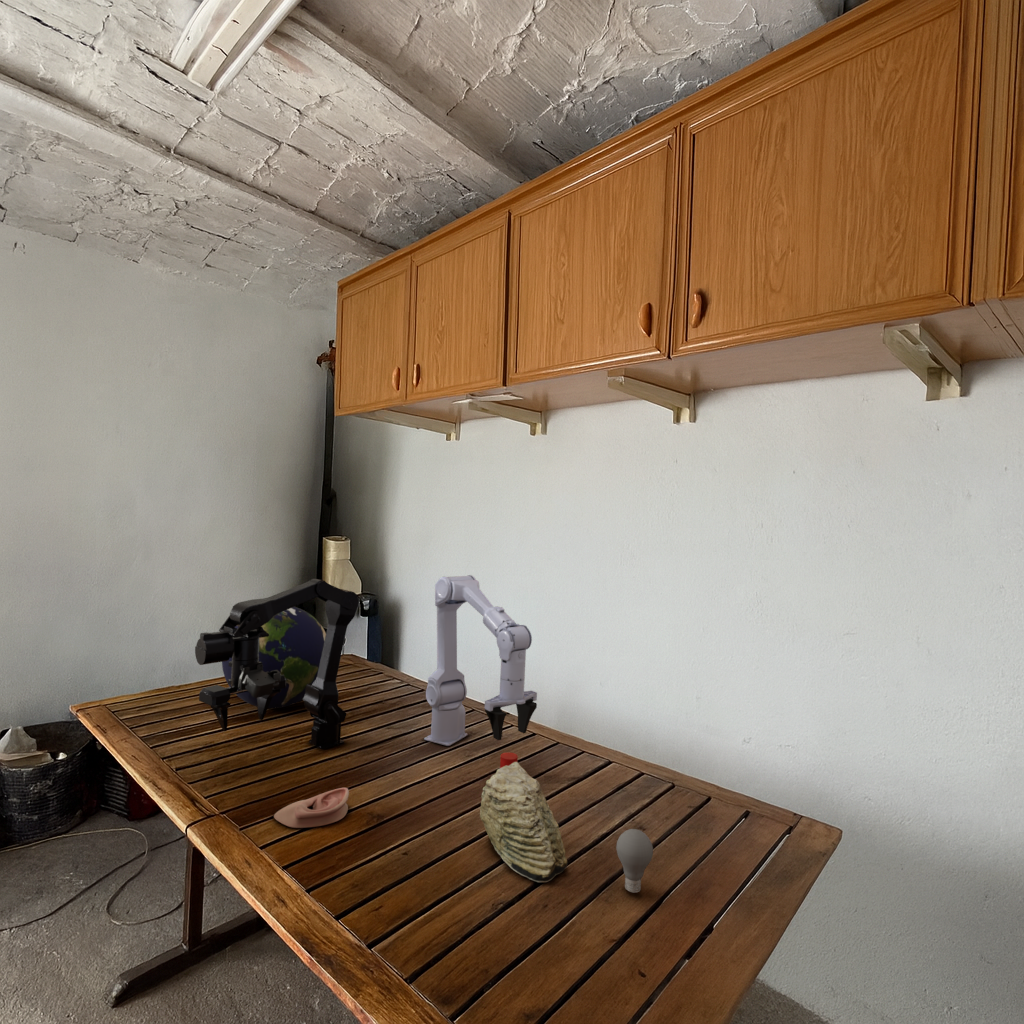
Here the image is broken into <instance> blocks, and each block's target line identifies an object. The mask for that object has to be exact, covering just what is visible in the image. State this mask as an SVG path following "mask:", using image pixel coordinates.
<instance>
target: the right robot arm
mask: <svg viewBox="0 0 1024 1024" xmlns="http://www.w3.org/2000/svg"><path fill="white" fill-rule="evenodd" d="M466 603H468V604H469V605H470V606H471V607H472V608H473V609H475V610H476V611H477V612H478V613H479V614H480V615H482V623H483V625H484V626H485V627H486V628H487V629H488V630H489V632H491V634H492V635H493V636H494V637H495V638H496V645H497V648H498V656H499V659H500V674H499V675H500V677H499V694H498V695H496V696H494V697H492V698H489V699H485V700H484V712H485V714H486V716H487V718H488V721H489V723H490V727H491V732H492V737H493V739H495V740H497V741H502V738H503V729H504V723H505V720H506V716H507V712H505V711H503V709H502V708H505V707H509V706H514V705H515V706H516V712H517V731H518V732H519V733H522V734H527V730H528V727H529V723H530V720H531V718H532V716H533V714H534V712H535V711H536V709H537V706H538V704H537V702H536V701H538V692H537V691H534V690H525V682H526V681H525V679H526V660H527V659H526V657H527V650H528V649H530V647H531V645H532V641H533V637H532V633H531V631H530V629H529V628H528V626H527V625H525V624H519V623H517V622H516V621H515V620H514V619H512V617H511V616H510V615H508V613H507V612H506V611H505V609H504V608H503V606H494V605H493V604H492V603H491V601H490V600H489V599H488V598H487V596H486V595H485V594H484V593H483V591H482V590H481V589H480V582H479V580H477V579H476V577H475V576H474V575H472V574H469V575H468V574H467V575H458V576H457V575H456V576H445V575H444V576H441V577H439V578H438V580H437V581H436V582H435V584H434V605H435V607H436V670H434V671H433V672H432V673H431V674H430V675H429V676H428V678H427V686H426V689H425V699H426V701H427V703H428V705H429V706H430V707H431V722H430V723H431V724H430V726H431V728H430V734H429V735H427V736H425V737H424V738H423V740H424V741H427V742H431V743H435V744H437V745H438V744H439V745H443V746H446V747H450V746H451V745H454V744H455V743H457V742H459V741H461V740H463V738H465V737H467V736H468V733H467V732H466V708H465V706H464V705H463V702H464V701H465V699H466V698H467V695H468V694H467V693H468V689H467V688H468V687H467V685H466V681H465V680H466V679H465V674H464V673H463V672H461V671H460V670H459V669H458V628H457V626H458V621H457V620H458V619H457V618H458V617H457V616H458V615H457V614H458V613H457V611H458V610H459V608H460V607H462V605H463V604H466Z"/></svg>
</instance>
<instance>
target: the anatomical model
mask: <svg viewBox="0 0 1024 1024" xmlns="http://www.w3.org/2000/svg"><path fill="white" fill-rule="evenodd" d="M349 795H350V791H349V788H347V787H339V788H336V789H332V790H328V791H325V792H323V793H319V794H317V795H314V796H312V797H310V798H307V799H301V800H299V801H295V802H293V803H289V804H288V805H286V806H284V807H282V808H281V809H279V810H278V811H276V812H275V813H274V815H273V818H274V819H275V820H276V821H277V822H279V823H281V824H282V825H284V826H287V827H289V828H293V829H303V828H315V827H321V826H326V825H330V824H333V823H335V822H338V821H340V820H342V819H343V818H345V816H346V815H347V813H348V810H349V805H348V803H347V802H348V799H349Z"/></svg>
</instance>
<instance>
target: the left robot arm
mask: <svg viewBox="0 0 1024 1024" xmlns="http://www.w3.org/2000/svg"><path fill="white" fill-rule="evenodd" d="M317 598H318V599H319V600H321V601H323V602H324V603H325V614H326V618H327V627H326V631H325V633H326V636H325V641H324V646H323V651H322V655H321V660H320V665H319V669H318V674H317V678H316V680H315V681H314V682H313V684H312V685H309V684H307V685H306V691H305V696H304V698H303V700H302V701H303V702H304V703H303V707H304V708H305V710H306V711H307V712H309V715H310V718H313V721H312V722H313V723H312V727H311V730H310V731H311V732H310V733H311V735H310V739H309V740H308V743H309V744H310V745H313V746H314V747H316V748H318V749H320V750H327V749H329V748H333V747H336V746H340V745H343V744H344V743H345V741H344V740H343V739H341V737H342V735H341V733H342V723H344V722H345V720H346V717H347V712H346V711H345V710H344V709H342V707H340V706H339V689H338V685H337V678H338V673H339V669H340V664H341V658H342V654H343V649H344V645H345V640H346V635H347V630H348V626H349V625H350V623H351V622H352V621H353V619H354V618H355V616H356V614H357V611H358V609H359V607H360V597H359V596H358V594H357V593H356V592H354V591H352V590H347V589H343V588H338V587H337V586H334V585H332V584H330V583H329V582H327V581H325V580H323V579H318V578H311V579H309V580H308V581H306V582H304V583H301V584H299V585H295V586H294V587H291V588H289V589H286V590H284V591H280V592H279V593H276V594H273V595H271V596H268V597H263V598H254V599H249V600H248V599H247V600H244V601H239V602H237V603H235V604H234V605H233V606H232V608H231V610H230V613H229V615H228V617H227V618H226V620H225V621H224V622H223V624H222V625H221V626H220V628H219V630H218V631H215V632H200V634H199V638H198V640H197V642H196V644H195V647H194V655H195V660H196V662H197V663H198V665H199V666H203V665H209V664H217V663H222V662H223V661H228V660H229V658H232V661H230V662H229V666H230V667H232V676H231V679H228V683H227V685H228V684H230V685H231V687H229V686H228V687H224V686H222V685H220V684H219V685H218V684H215V685H211V686H206V687H202V688H201V690H200V691H199V693H198V701H199V702H201V703H204V704H206V705H208V706H210V708H211V709H212V711H213V713H214V714H215V716H216V719H217V721H218V723H219V726H220V728H221V730H222V731H223V732H227V731H228V723H229V721H228V719H229V716H228V715H229V708H230V706H231V705H232V703H231V702H229V701H230V699H231V696H235V695H236V694H239V693H243V692H247V691H248V692H249V693H250V694H251V695H252V696H253V697H255V698H257V705H258V707H257V715H258V720H259V721H264V719H265V716H266V713H267V711H268V710H269V708H268V706H269V704H270V702H271V700H272V698H273V696H275V695H276V694H277V693H278V692H280V691H281V689H282V688H285V687H286V679H285V677H284V676H283V675H280V672H279V671H278V670H274V671H270V672H269V671H268V672H264V671H263V665H262V662H259V641H260V638H261V637H268V636H269V634H268V633H267V632H266V631H265V630H264V629H263V627H261V626H263V625H264V624H266V623H267V622H269V621H270V620H271V619H272V618H273V617H274V616H275V615H277V614H278V613H280V612H283V611H285V610H288V609H290V608H292V607H298V606H300V605H302V604H305V603H307V602H309V601H311V600H314V599H317ZM236 626H238V628H234V627H236Z"/></svg>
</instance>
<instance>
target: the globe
mask: <svg viewBox="0 0 1024 1024" xmlns="http://www.w3.org/2000/svg"><path fill="white" fill-rule="evenodd" d="M261 627H263V629H264V630H265V631H266V632H267V633H268V634H269V636H268V637H261V638H260V641H259V662H262V665H263V671H264V672H268V671H269V672H270V671H274V670H278V671H279V672H280V675H283V676H284V677H285V679H286V687H285V688H282V689H281V691H280V692H278V693H277V694H276V695H275V696H273V698H272V700H271V702H270V704H269V706H268V709H282V708H285V707H289V706H293V705H295V704H298V703H299V702H301V701H304V700H303V698H304V696H305V691H306V685H307V684H309V685H312V684H313V682H314V681H315V680H316V678H317V674H318V669H319V665H320V660H321V655H322V651H323V646H324V641H325V636H326V631H325V629H324V627H323V626H322V624H321V623H320V621H318V619H317V618H315V616H314V615H312V614H311V613H310V612H308V611H305V610H304V609H302V608H299V607H298V606H295V607H292V608H290V609H288V610H285V611H283V612H280V613H278V614H277V615H275V616H274V617H273V618H272V619H271V620H270V621H269V622H267V623H266V624H264V625H263V626H261ZM234 628H238V626H236V627H234ZM230 661H232V658H229V660H228V661H223V662H221V666H222V672H223V676H224V678H225V679H224V680H225V681H226V683H227V685H228V687H231V685H230V684H228V679H231V676H232V667H230V666H229V662H230ZM235 695H236V696H237V697H238V698H239V699H240V700H242V701H244V702H245V703H247V704H248V705H251V706H254V707H257V708H258V705H257V698H255V697H253V696H252V695H251V694H250V693H249V692H248V691H247V692H243V693H239V694H235Z"/></svg>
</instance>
